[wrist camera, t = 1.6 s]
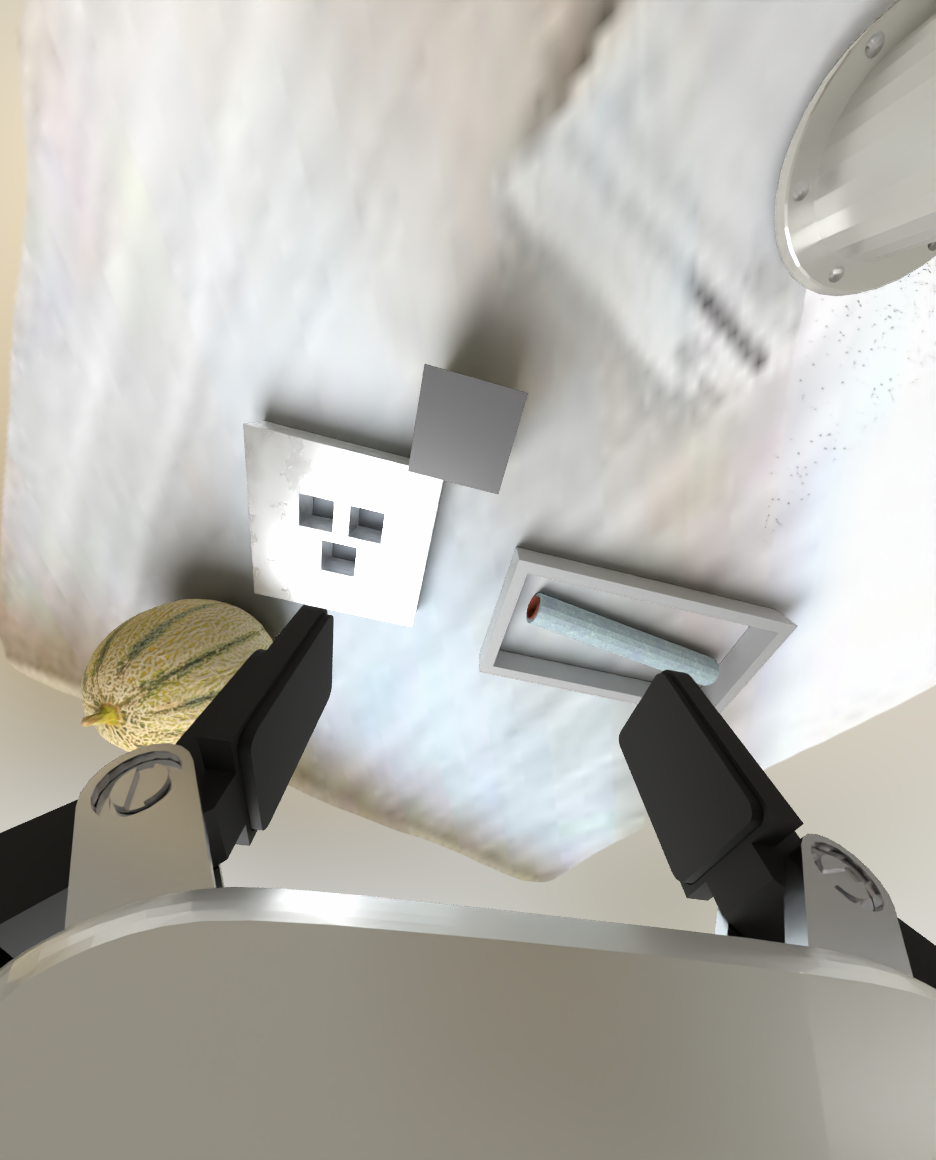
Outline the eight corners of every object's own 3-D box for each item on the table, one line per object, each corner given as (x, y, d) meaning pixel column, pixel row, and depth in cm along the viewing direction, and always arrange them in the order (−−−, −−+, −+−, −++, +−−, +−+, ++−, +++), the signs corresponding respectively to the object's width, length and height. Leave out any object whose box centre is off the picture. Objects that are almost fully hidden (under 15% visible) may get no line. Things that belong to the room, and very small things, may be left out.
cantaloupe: (283, 690, 46) (204, 813, 32) (164, 646, 42) (23, 762, 29) (316, 609, 39) (234, 721, 26) (179, 550, 36) (7, 643, 23)
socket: (264, 420, 30) (243, 423, 27) (446, 467, 31) (443, 474, 29) (270, 578, 37) (254, 593, 35) (416, 610, 39) (412, 626, 36)
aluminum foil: (523, 610, 39) (527, 628, 36) (552, 561, 36) (558, 576, 33) (689, 671, 43) (705, 692, 40) (728, 630, 40) (749, 650, 36)
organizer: (516, 546, 35) (519, 559, 32) (775, 609, 37) (797, 626, 35) (479, 653, 42) (479, 671, 39) (700, 700, 44) (714, 720, 42)
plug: (438, 370, 28) (424, 363, 21) (515, 392, 28) (527, 393, 21) (424, 452, 31) (407, 471, 24) (493, 470, 31) (498, 494, 24)
